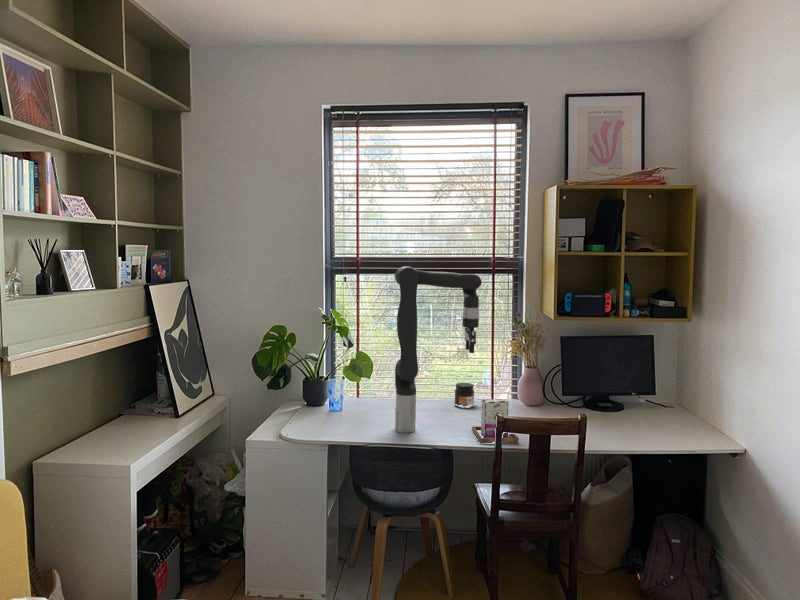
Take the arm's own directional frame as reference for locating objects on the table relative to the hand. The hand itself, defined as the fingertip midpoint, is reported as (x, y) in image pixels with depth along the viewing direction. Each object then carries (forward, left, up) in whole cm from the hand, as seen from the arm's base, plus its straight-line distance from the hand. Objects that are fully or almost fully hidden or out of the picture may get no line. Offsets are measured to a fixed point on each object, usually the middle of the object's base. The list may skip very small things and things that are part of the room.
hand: (469, 351), depth 257 cm
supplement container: (+5, +36, -36) cm, 51 cm away
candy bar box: (+9, -16, -36) cm, 40 cm away
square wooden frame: (+9, -16, -36) cm, 40 cm away
